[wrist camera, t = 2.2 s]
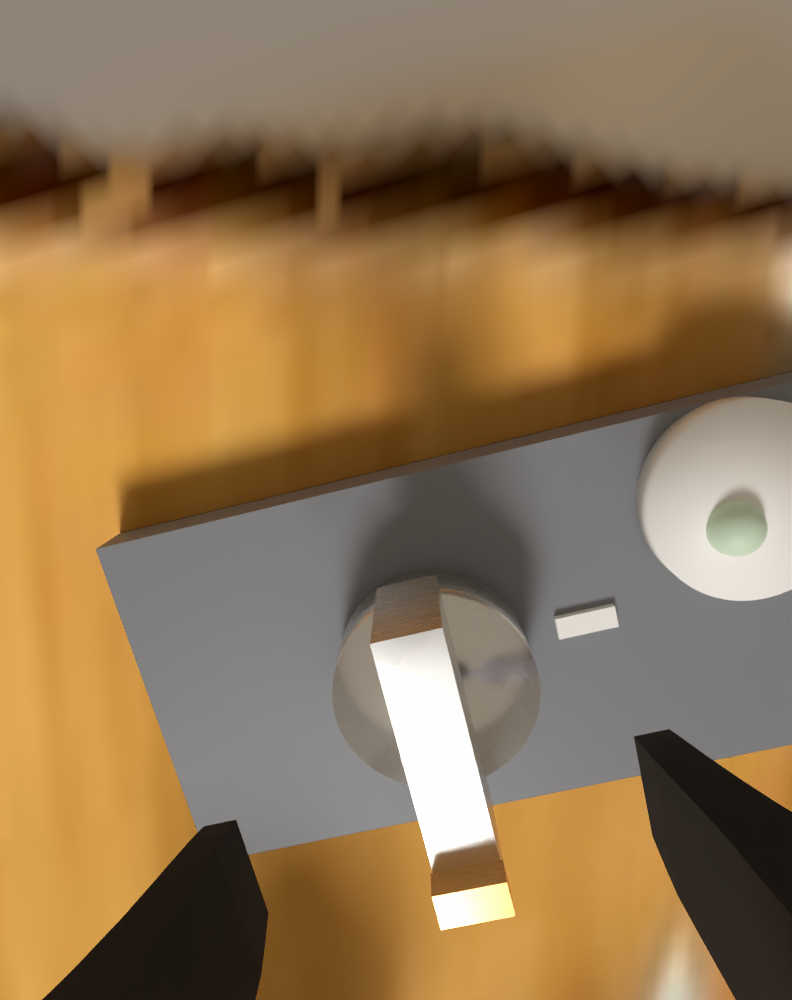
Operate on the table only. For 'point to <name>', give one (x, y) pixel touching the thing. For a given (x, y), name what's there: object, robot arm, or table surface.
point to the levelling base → (505, 569)
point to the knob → (441, 720)
